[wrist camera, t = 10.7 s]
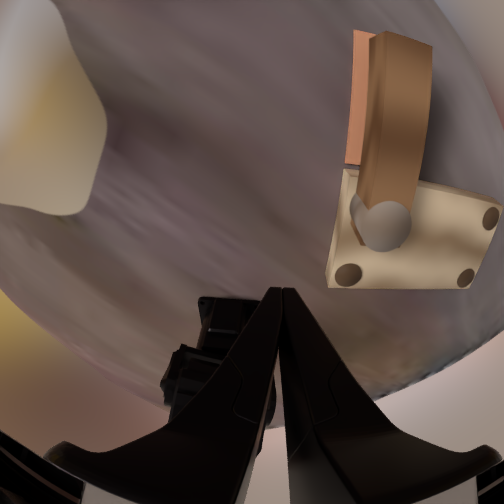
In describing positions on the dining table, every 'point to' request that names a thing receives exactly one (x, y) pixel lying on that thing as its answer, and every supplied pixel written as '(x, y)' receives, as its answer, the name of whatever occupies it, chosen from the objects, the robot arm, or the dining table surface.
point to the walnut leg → (392, 140)
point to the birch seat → (417, 241)
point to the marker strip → (358, 97)
